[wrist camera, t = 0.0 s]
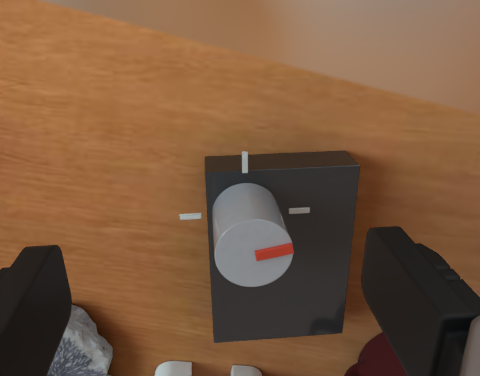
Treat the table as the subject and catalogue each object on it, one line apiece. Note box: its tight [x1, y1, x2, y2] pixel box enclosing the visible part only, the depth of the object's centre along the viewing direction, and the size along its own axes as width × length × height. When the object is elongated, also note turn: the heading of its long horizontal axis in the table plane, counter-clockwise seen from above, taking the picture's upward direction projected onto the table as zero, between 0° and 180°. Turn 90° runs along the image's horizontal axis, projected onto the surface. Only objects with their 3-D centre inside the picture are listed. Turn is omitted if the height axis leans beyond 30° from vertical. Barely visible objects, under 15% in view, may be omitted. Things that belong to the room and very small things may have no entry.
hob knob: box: [212, 183, 294, 287], centre depth 26 cm, size 4×4×5 cm
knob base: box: [180, 151, 360, 343], centre depth 31 cm, size 15×12×3 cm
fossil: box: [47, 305, 113, 376], centre depth 34 cm, size 11×4×10 cm
